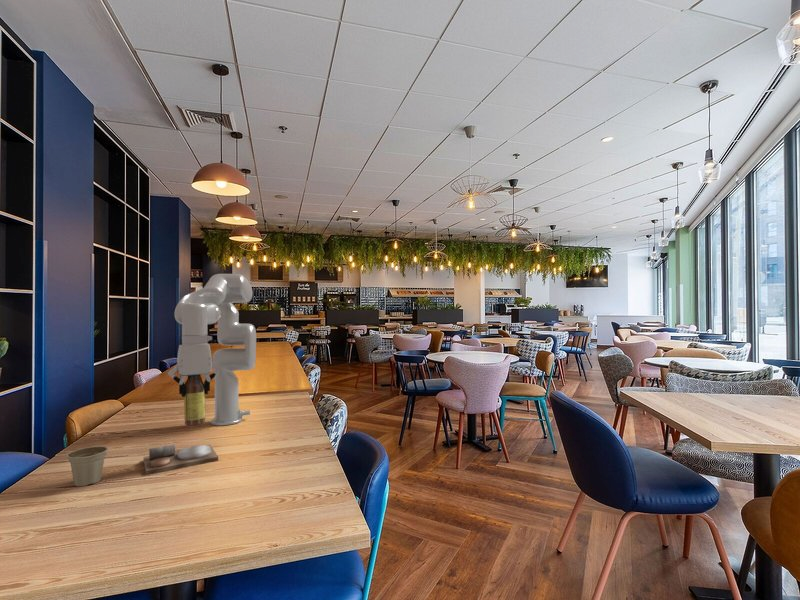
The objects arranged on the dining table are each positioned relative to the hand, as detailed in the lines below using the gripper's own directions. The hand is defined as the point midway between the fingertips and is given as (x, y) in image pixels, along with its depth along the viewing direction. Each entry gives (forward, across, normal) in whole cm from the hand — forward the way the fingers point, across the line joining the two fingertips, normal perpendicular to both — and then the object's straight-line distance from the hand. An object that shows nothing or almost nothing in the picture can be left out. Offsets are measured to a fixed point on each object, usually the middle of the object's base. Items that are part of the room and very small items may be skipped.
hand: (194, 394), depth 136 cm
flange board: (+21, +4, 0) cm, 21 cm away
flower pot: (+21, +28, +3) cm, 35 cm away
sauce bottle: (+10, 0, 0) cm, 10 cm away
